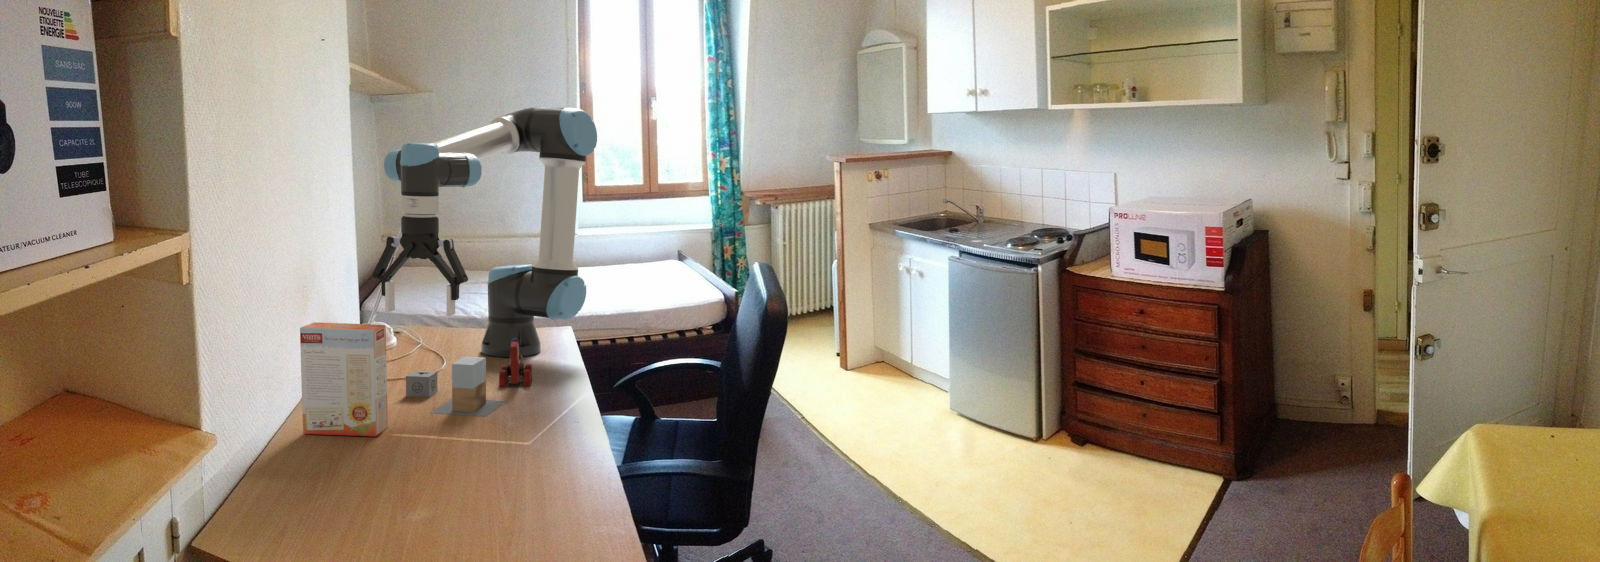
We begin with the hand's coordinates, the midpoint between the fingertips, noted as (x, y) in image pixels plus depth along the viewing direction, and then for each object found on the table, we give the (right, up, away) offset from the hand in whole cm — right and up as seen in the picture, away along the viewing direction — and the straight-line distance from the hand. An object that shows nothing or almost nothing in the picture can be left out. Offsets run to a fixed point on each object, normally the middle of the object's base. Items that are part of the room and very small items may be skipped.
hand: (420, 313), depth 213 cm
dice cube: (-1, -19, +3) cm, 19 cm away
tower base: (+13, -20, -6) cm, 24 cm away
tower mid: (+13, -15, -7) cm, 21 cm away
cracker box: (-5, -22, -25) cm, 34 cm away
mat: (+13, -20, -6) cm, 24 cm away
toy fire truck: (+16, -17, +16) cm, 28 cm away
